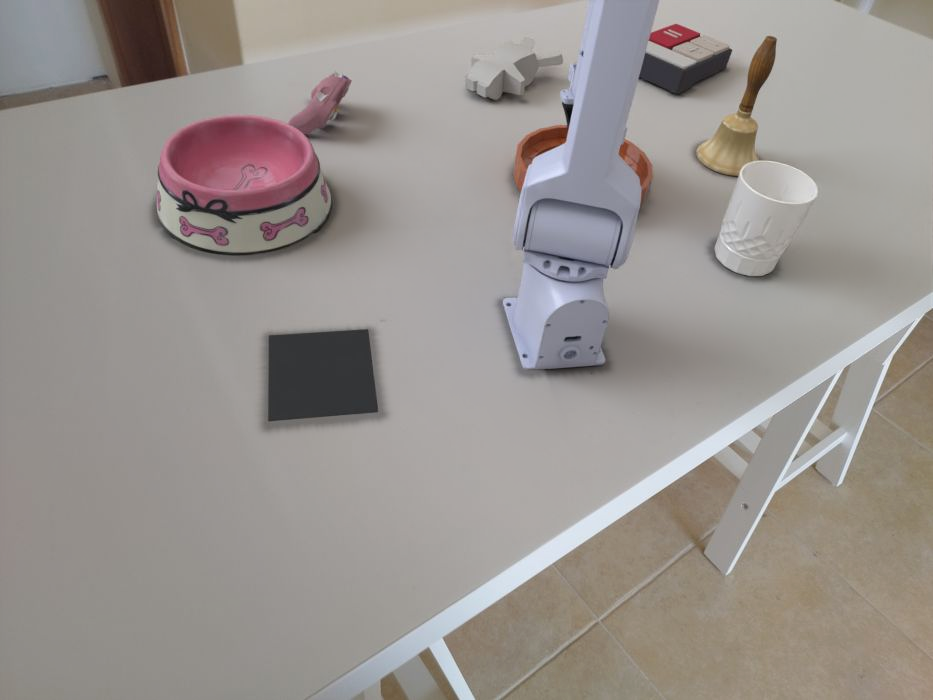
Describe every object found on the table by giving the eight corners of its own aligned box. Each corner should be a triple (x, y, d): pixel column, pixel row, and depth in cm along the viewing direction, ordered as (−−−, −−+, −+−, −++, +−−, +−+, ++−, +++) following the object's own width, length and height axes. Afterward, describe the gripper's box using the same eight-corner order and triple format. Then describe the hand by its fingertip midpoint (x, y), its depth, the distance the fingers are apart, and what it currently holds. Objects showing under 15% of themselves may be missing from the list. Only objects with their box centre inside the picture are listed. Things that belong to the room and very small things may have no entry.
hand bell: (689, 164, 95) (731, 42, 84) (702, 136, 101) (744, 18, 89) (753, 183, 93) (805, 61, 82) (763, 154, 99) (813, 35, 87)
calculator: (735, 44, 114) (686, 65, 105) (725, 71, 117) (677, 94, 108) (675, 20, 118) (623, 38, 110) (667, 46, 121) (616, 66, 113)
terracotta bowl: (664, 222, 86) (673, 197, 83) (530, 228, 83) (534, 201, 80) (620, 148, 96) (626, 124, 94) (500, 150, 94) (503, 125, 91)
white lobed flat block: (450, 58, 101) (522, 20, 108) (451, 92, 105) (520, 53, 112) (501, 84, 97) (572, 43, 104) (499, 118, 101) (568, 76, 108)
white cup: (695, 241, 83) (725, 165, 76) (751, 231, 86) (785, 156, 79) (735, 286, 79) (771, 208, 71) (794, 274, 81) (834, 197, 74)
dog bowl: (356, 179, 86) (355, 126, 81) (287, 275, 74) (281, 219, 69) (212, 145, 89) (203, 92, 84) (121, 233, 76) (104, 176, 71)
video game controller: (315, 151, 92) (338, 110, 88) (283, 131, 91) (304, 87, 87) (340, 114, 99) (362, 74, 95) (310, 95, 98) (331, 53, 93)
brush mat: (378, 414, 62) (378, 411, 62) (268, 423, 61) (268, 420, 60) (367, 331, 69) (367, 328, 69) (269, 338, 67) (268, 335, 67)
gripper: (552, 24, 81) (533, 135, 91) (590, 87, 71) (564, 204, 81) (612, 25, 82) (587, 135, 92) (658, 87, 72) (625, 202, 82)
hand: (580, 167), depth 87 cm, fingers closed on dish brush, 2 cm apart
